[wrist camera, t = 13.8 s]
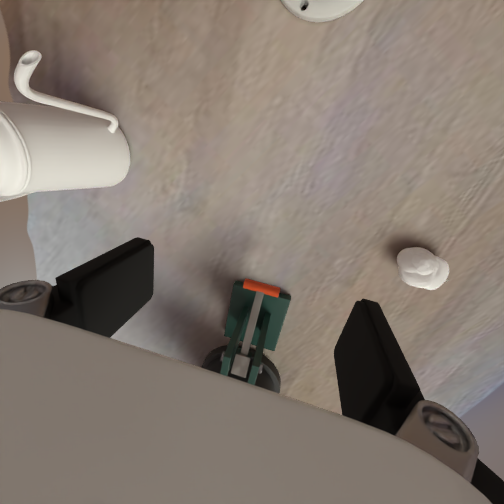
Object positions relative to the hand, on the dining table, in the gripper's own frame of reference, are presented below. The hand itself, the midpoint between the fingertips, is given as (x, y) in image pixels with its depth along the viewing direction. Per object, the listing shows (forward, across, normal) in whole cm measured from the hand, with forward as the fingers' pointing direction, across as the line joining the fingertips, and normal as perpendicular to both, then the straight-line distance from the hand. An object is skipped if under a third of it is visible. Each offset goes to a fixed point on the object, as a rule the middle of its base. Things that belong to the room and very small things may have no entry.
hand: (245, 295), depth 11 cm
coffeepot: (+26, +30, -1) cm, 40 cm away
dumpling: (+26, -20, +5) cm, 34 cm away
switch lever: (+19, 0, +18) cm, 26 cm away
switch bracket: (+26, 0, +22) cm, 34 cm away
